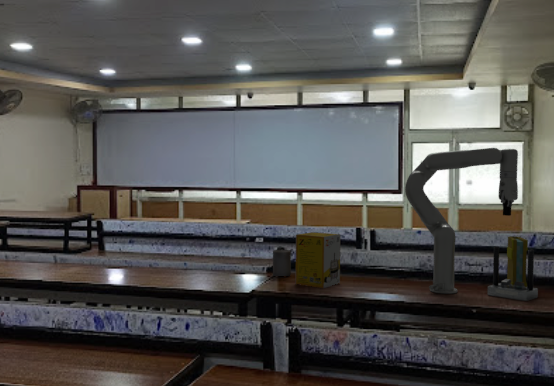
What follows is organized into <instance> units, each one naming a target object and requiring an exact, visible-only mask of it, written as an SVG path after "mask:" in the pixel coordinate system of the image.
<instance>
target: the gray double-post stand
mask: <svg viewBox="0 0 554 386" xmlns="http://www.w3.org/2000/svg"><path fill="white" fill-rule="evenodd" d="M534 257H535V250H534V249H528V250H527V275H526V283H527V287H525V286H517V285H512V284H509V285H507V286H504V285H502V284H501V282H499V274H500V246H498V245H497V246H496V245H495V246H493V262H492V263H493V268H492V270H493V271H492V273H493V275H492V276H493V277H492V285H488V286H487V296H493V297H498V298H503V299H510V300H511V299H512V300H517V301H524V302H528V301H531V300H534V299H537V298H538V297H539V296H538V295H539V288H537V287H534V265H535V264H534V262H535V258H534Z"/></svg>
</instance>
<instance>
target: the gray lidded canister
mask: <svg viewBox="0 0 554 386" xmlns="http://www.w3.org/2000/svg"><path fill="white" fill-rule="evenodd" d="M291 254H292V253H291V250H289V249H275V250H272V276H273V277H274V276H289V277H291V276H292V272H291V271H292V270H291V268H292V266H291V264H292V262H291V260H292V259H291V257H292V256H291ZM290 275H291V276H290Z"/></svg>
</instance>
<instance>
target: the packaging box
mask: <svg viewBox="0 0 554 386" xmlns="http://www.w3.org/2000/svg"><path fill="white" fill-rule="evenodd" d="M338 283H339V284H340V283H341V234H340V233H339V234H338V233H326V232H325V233H324V232H314V231H313V232H305V233H297V234H295V285H297V284H301V285H300V286H304V285H307V286H306V287H311V286H312V288H313V287H314V288H320V289H325V288H329V287H333V286H336V285H338ZM335 284H336V285H335ZM332 285H333V286H332Z"/></svg>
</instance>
